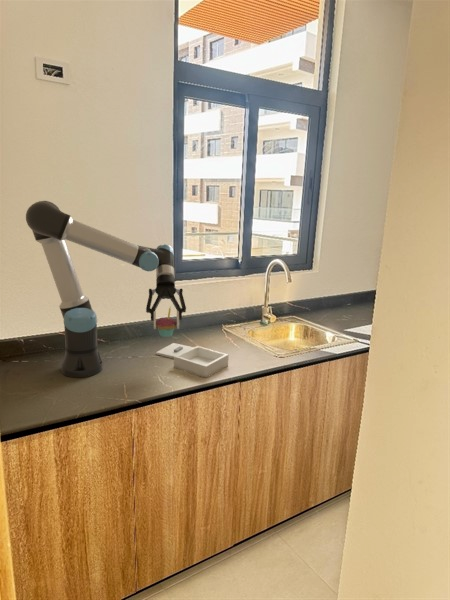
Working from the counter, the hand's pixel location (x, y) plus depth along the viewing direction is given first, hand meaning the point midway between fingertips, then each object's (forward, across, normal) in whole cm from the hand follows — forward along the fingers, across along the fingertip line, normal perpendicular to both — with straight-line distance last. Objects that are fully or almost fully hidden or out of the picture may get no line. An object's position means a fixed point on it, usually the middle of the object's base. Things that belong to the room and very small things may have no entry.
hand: (166, 327), depth 159 cm
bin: (+10, -14, -16) cm, 23 cm away
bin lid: (-1, -6, -27) cm, 27 cm away
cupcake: (+1, 0, -6) cm, 6 cm away
